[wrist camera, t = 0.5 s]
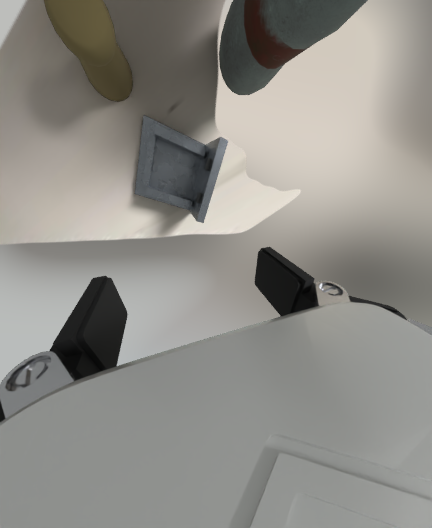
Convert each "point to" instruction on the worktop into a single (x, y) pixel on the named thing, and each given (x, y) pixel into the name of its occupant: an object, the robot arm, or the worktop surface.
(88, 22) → the cork
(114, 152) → the worktop surface
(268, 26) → the bottle
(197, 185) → the clip bracket
